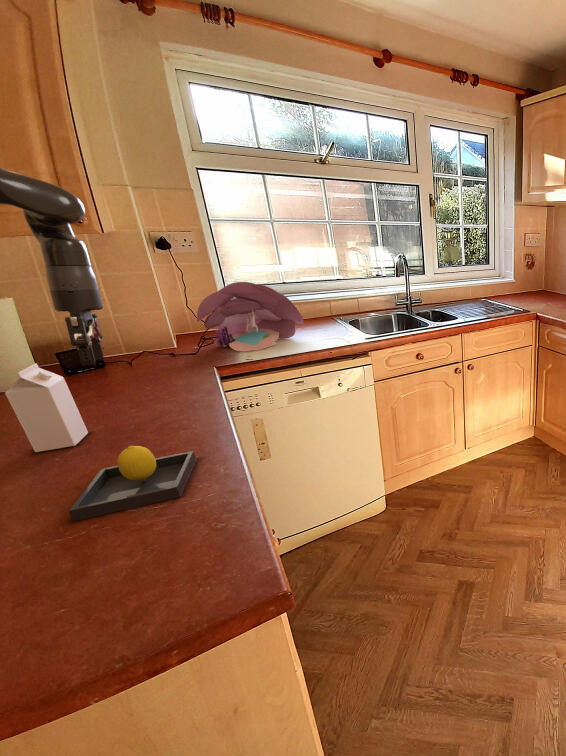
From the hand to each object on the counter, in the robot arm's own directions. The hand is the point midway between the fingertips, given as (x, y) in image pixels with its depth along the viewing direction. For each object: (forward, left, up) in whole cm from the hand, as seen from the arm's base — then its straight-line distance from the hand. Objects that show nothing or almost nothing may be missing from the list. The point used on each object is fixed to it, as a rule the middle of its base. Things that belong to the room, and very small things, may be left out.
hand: (93, 362), depth 95 cm
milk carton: (-13, +4, -20) cm, 24 cm away
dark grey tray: (+10, -27, -20) cm, 35 cm away
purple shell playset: (+22, +78, -20) cm, 83 cm away
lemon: (+10, -25, -19) cm, 33 cm away
